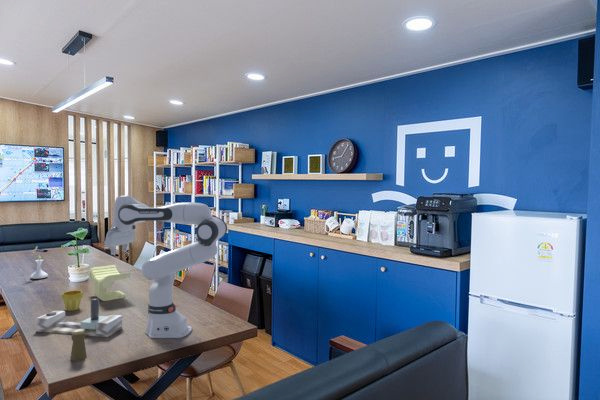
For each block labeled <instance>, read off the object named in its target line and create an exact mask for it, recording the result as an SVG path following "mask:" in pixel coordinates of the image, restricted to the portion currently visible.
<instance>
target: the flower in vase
mask: <svg viewBox="0 0 600 400" xmlns="http://www.w3.org/2000/svg"><path fill="white" fill-rule="evenodd" d="M37 250H38V246H36V247H35V248H34V249H33V251H32V252H31V254H30V256H34V254H35V253H36V254H37V257H36V259H35V262H36V265H37V266H36V267H37V269H36V271H34V272H33V273H32V274H30V275H29V276H30V278H31V279H33V280H34V279H35V280H36V279H37V280H39V279H44V278H47V277H48V276H49V274H48V273H47V272H45V271H44V270H42V263H43V261H44V259H41V258H42V256H41V255H40V254H39V253H38V251H37Z"/></svg>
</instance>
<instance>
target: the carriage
mask: <svg viewBox="0 0 600 400" xmlns="http://www.w3.org/2000/svg"><path fill="white" fill-rule="evenodd" d="M99 309H100V299H99V298H98V297H96V298H92V299H90V317H88V318H86V319H84V320H81V321H80V323H81V327H80V328H84V329H90V330H96V322H98V321H100V320H102V319H104V318H106V317H108V316H109V315H100V310H99Z"/></svg>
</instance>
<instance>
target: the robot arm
mask: <svg viewBox="0 0 600 400" xmlns="http://www.w3.org/2000/svg"><path fill="white" fill-rule="evenodd" d="M149 221H150V222H155V221H156V222H165V223H172V224H180V225H194V226H195V225H196V230H195V231H196V233H195V234H196V238H197V241H195V242H191V243H188V244H186V245H183V246H180V247H178V248H175V249H173V250H169V251H166V252H164V253H161V254H158V255H156V256H152V257H150V258H149V259H147V260H146V261H145V262H144V263H143V264H142V266H141V274H142V276H143V277H144V279H146V280H151V281H152V283H151V285H150V287H149V291H148V293H149V296H148V297H149V298H148V299H149V303H148V307H147V312H148V317H147V318H148V319H147V324H146V328H145V334H146V335H147V336H148V337H149V338H150V339H182V338H184V337H185V336H188V335H189V334H190V333H191V332H192V331H193V329H192V326H190V325H189V324H188V320H187V317H185V316H184V315H183V314H181V312H179V311H178V310H176V309H177V306H178V304H177V303H176V304H174V302H173V293H174V292H173V288H174V282H175V278H176V273H178V272H180V271H183V270H186V269H189V268H191V267H194V266H197V265H200V264H203V263H205V262H207V261H209V260H212V259H214V258H215V256H216V255H217V253H218V246H217V241H218V240H220V239H222V238H223V237H224V236H225V235H226V234H227V231H228V225H227V222H226V221H225V220H223V219H221V218H220V217H218V216H216V215H215V214H213V215H212V214H211V208H210V207H209V206H208V204H205V203H202V202H194V201H193V202H191V201H190V202H189V201H187V202H186V201H184V202H177V203H172V204H168V205H165V206H158V207H150V206H149V205H147V204H145V203H143V202H140V201H139V200H137V199H135V198H134V196H133V195H118V196H117V197H116V199H115V201H114V205H113V218H112V223H111V227H110V229H109V230H108V231H107V233H106V236H105V239H104V246H105V247H107V248H109V250H110V255H111V256H115V255H117V254H116V253H117V251H116V247H118V246H122V245H123V246H122V249H121V252H123V253H126V252H127V251H128V247H129V245H130V243H133V242H134V241H135V237H136V229H137V225H136V224H139V223H145V222H149Z"/></svg>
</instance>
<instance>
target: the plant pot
mask: <svg viewBox="0 0 600 400" xmlns="http://www.w3.org/2000/svg"><path fill="white" fill-rule="evenodd" d="M61 298H62V299H61V300H62V301H63V303H64V307H65V311H67V310H68V311H70V312H71V311H77V310H79V309H80V306H81V300H82V298H83V291H82V290H68V291H64V292H63V293H62V294H61Z"/></svg>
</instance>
